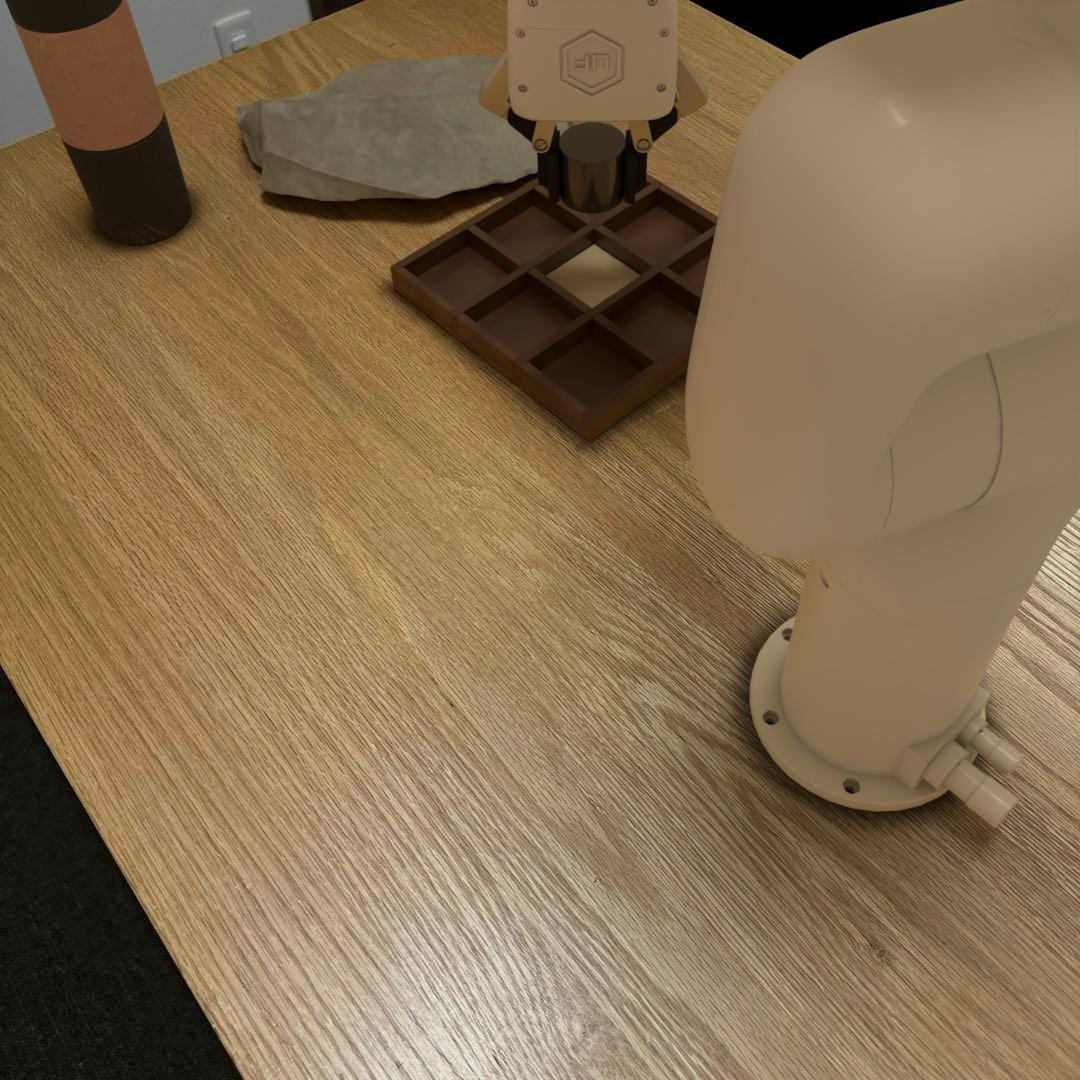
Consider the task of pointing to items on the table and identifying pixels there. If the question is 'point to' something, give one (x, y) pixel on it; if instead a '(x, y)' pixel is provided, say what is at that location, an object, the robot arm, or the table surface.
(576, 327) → the board
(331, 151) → the rock
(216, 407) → the table surface
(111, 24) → the travel mug
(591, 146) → the dark cylinder
